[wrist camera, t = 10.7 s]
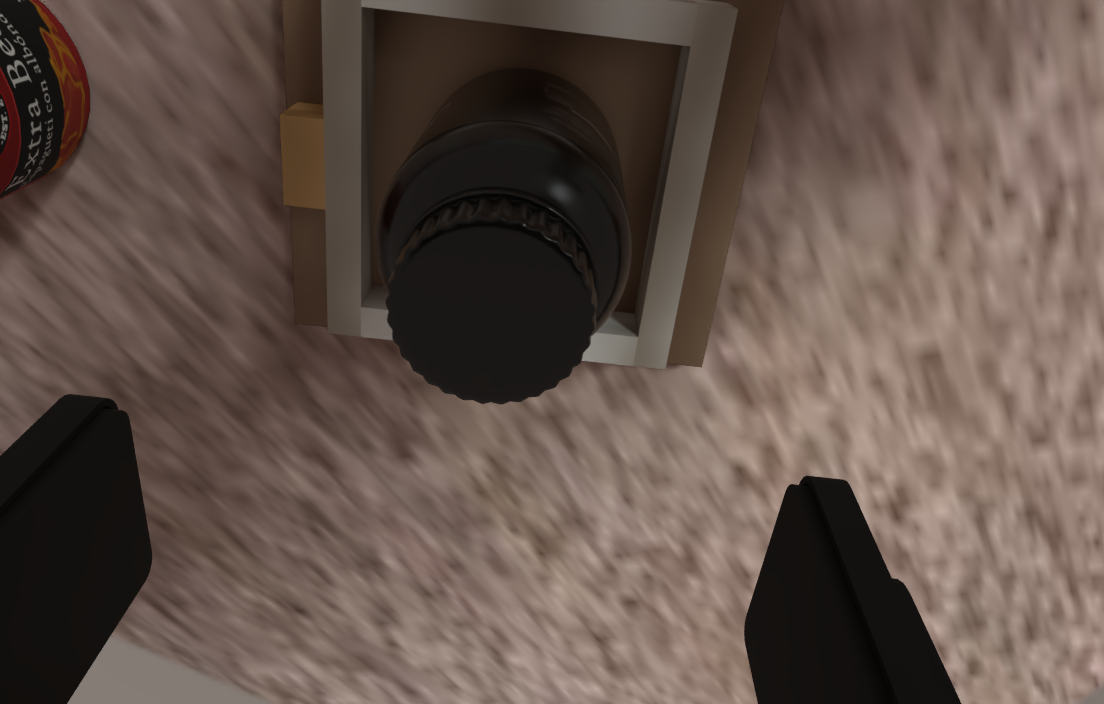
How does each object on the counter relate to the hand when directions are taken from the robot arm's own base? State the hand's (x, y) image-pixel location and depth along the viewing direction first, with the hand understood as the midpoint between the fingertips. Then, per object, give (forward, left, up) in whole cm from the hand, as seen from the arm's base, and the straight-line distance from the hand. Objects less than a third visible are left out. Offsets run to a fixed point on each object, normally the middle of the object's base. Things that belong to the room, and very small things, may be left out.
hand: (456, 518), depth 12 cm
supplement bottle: (0, 0, -20) cm, 20 cm away
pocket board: (0, 0, -21) cm, 21 cm away
